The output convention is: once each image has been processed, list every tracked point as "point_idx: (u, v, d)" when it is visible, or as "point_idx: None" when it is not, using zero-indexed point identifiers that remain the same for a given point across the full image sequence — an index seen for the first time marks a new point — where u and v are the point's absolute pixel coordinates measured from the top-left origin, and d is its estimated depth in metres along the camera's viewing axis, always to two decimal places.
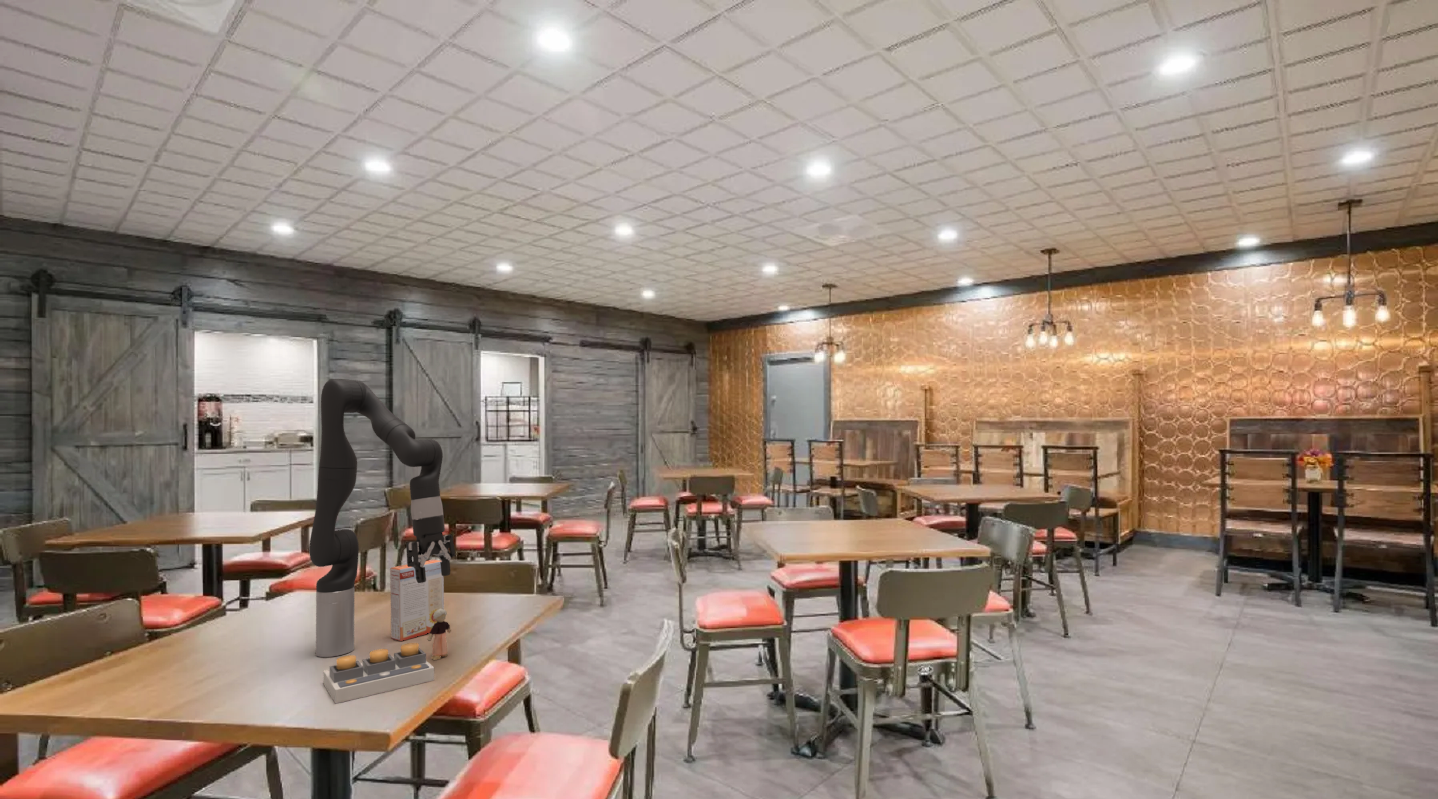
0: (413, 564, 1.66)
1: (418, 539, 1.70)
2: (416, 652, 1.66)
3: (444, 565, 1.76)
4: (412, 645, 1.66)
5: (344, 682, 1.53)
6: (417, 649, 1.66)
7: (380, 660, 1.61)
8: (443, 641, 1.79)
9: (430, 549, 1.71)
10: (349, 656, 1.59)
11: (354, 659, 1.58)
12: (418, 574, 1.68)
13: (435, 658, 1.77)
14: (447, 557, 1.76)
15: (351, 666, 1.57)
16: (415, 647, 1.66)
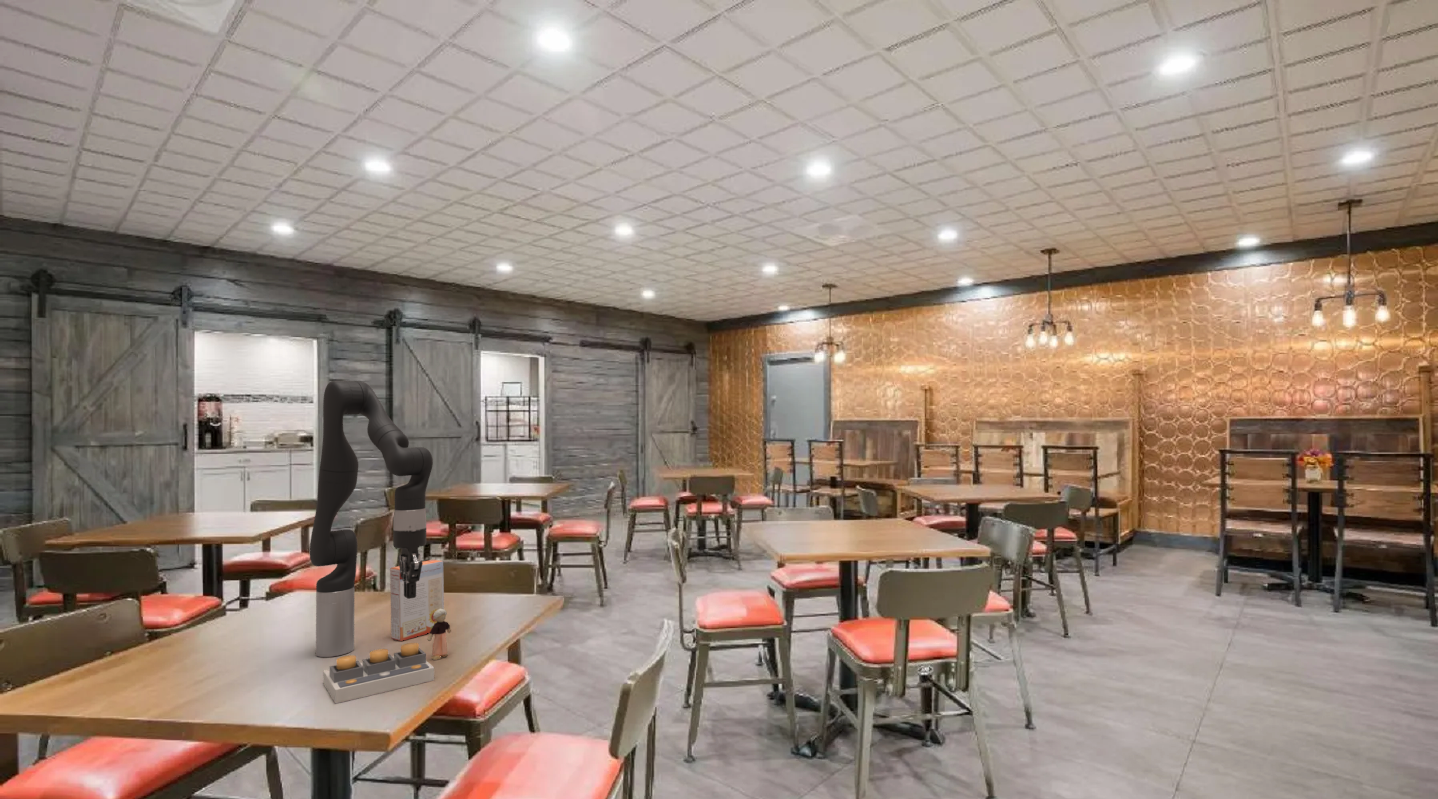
0: (416, 580, 1.65)
1: (413, 551, 1.65)
2: (416, 652, 1.66)
3: None
4: (412, 645, 1.66)
5: (344, 682, 1.53)
6: (417, 649, 1.66)
7: (380, 660, 1.61)
8: (443, 641, 1.79)
9: None
10: (349, 656, 1.59)
11: (354, 659, 1.58)
12: (413, 589, 1.66)
13: (435, 658, 1.77)
14: None
15: (351, 666, 1.57)
16: (415, 647, 1.66)
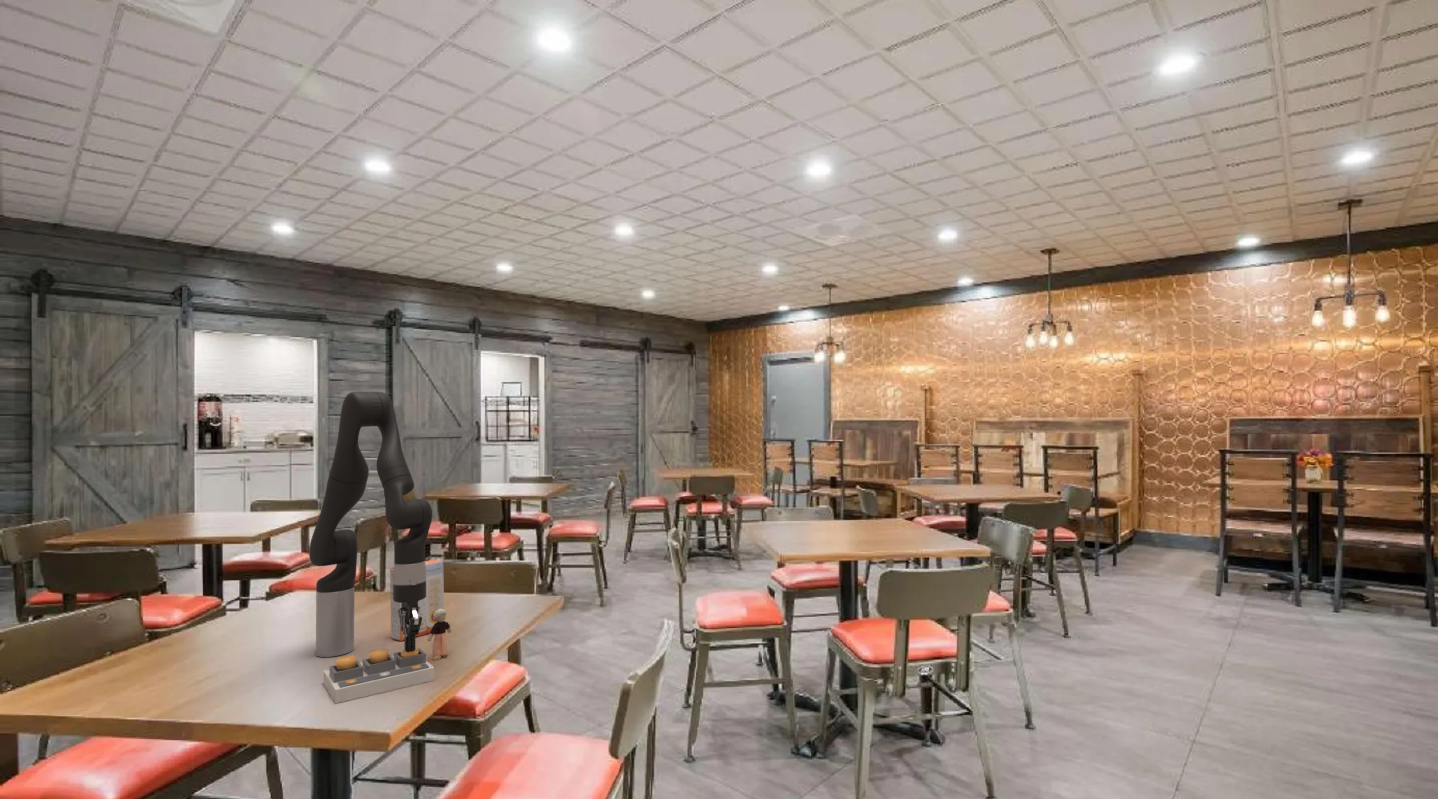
0: (416, 634, 1.65)
1: (413, 605, 1.64)
2: None
3: None
4: (412, 651, 1.66)
5: (344, 682, 1.53)
6: None
7: (380, 660, 1.61)
8: (443, 641, 1.79)
9: None
10: (349, 656, 1.59)
11: (354, 659, 1.58)
12: (412, 643, 1.66)
13: (435, 658, 1.77)
14: None
15: (351, 666, 1.57)
16: (415, 652, 1.66)
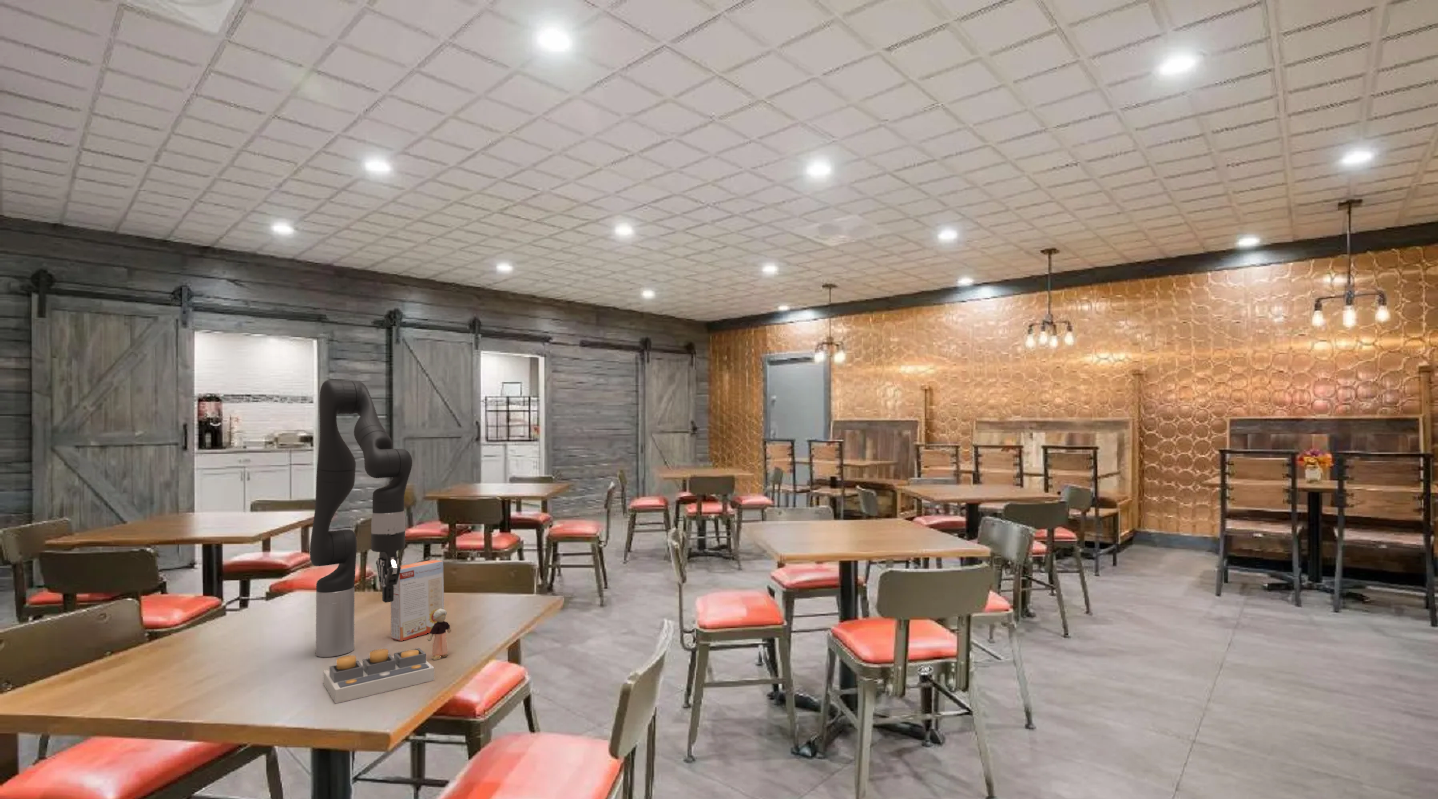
0: (394, 584, 1.63)
1: (391, 555, 1.62)
2: None
3: None
4: (412, 652, 1.66)
5: (344, 682, 1.53)
6: None
7: (380, 660, 1.61)
8: (443, 641, 1.79)
9: None
10: (349, 656, 1.59)
11: (354, 659, 1.58)
12: (390, 593, 1.63)
13: (435, 658, 1.77)
14: None
15: (351, 666, 1.57)
16: (415, 654, 1.66)
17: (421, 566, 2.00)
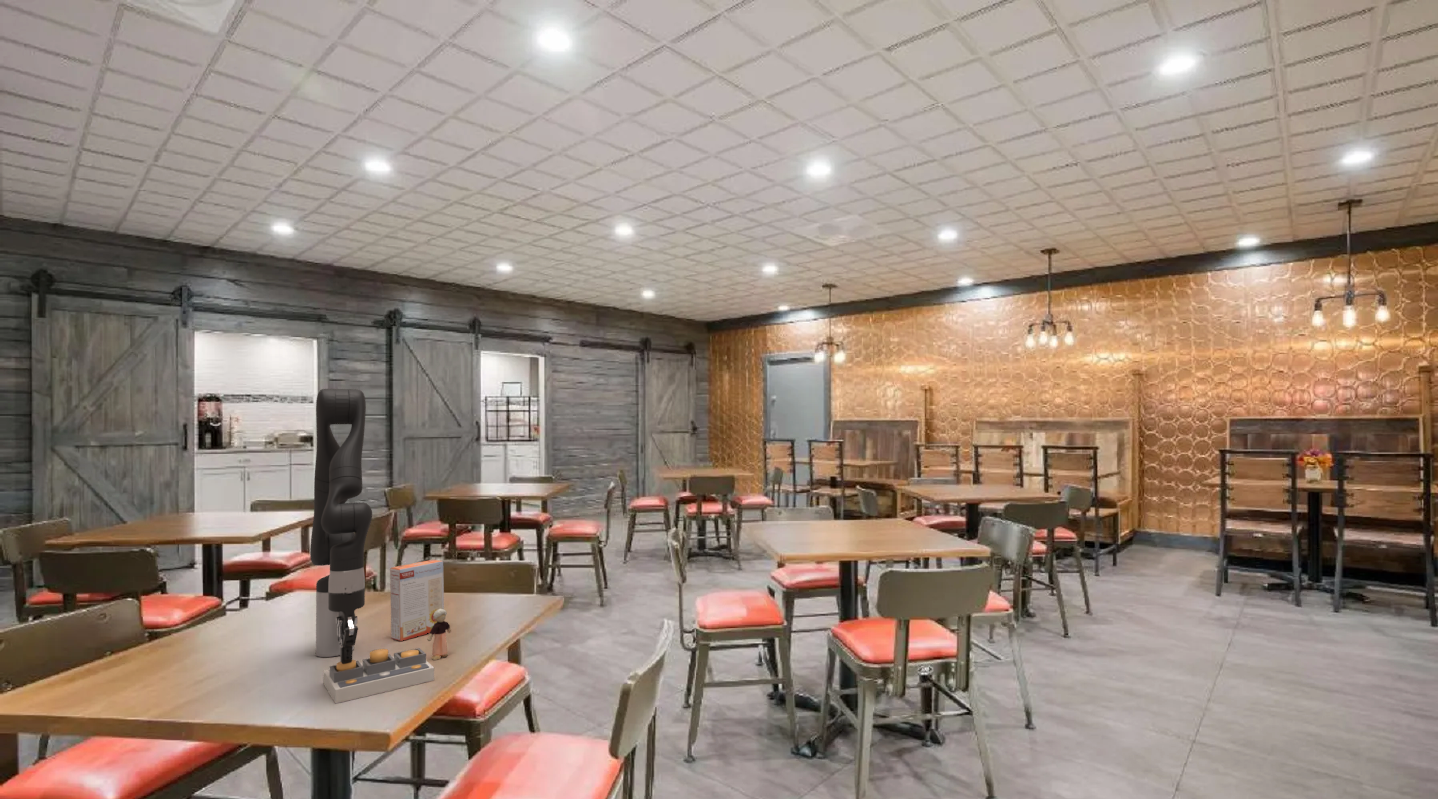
0: (352, 645, 1.56)
1: (349, 614, 1.55)
2: None
3: None
4: (412, 652, 1.66)
5: (344, 682, 1.53)
6: None
7: (380, 660, 1.61)
8: (443, 641, 1.79)
9: None
10: None
11: (354, 663, 1.58)
12: (348, 654, 1.57)
13: (435, 658, 1.77)
14: None
15: None
16: (415, 654, 1.66)
17: (421, 566, 2.00)
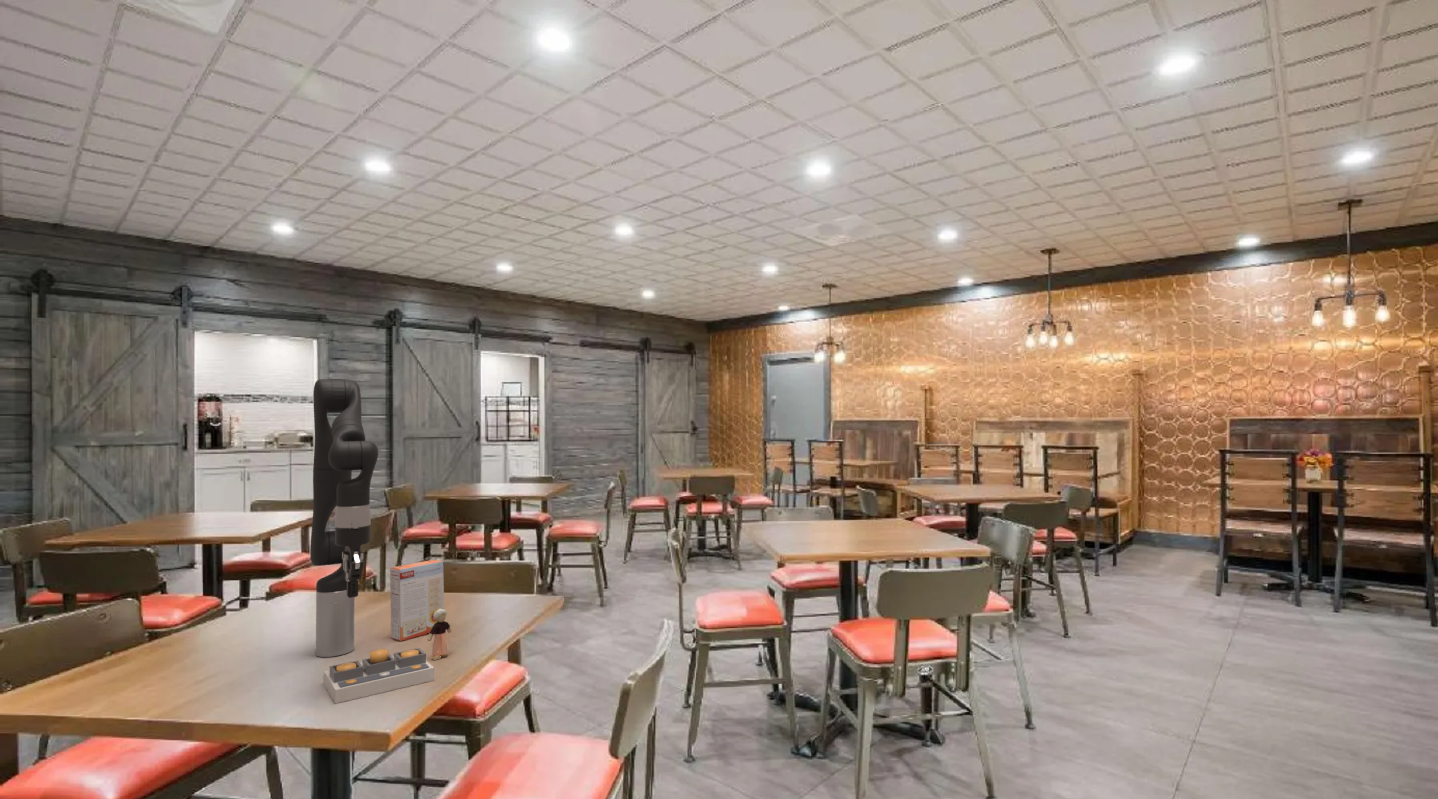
0: (358, 579, 1.59)
1: (355, 549, 1.58)
2: None
3: None
4: (412, 652, 1.66)
5: (344, 682, 1.53)
6: None
7: (380, 660, 1.61)
8: (443, 641, 1.79)
9: None
10: (349, 663, 1.59)
11: (354, 667, 1.58)
12: (354, 588, 1.60)
13: (435, 658, 1.77)
14: None
15: None
16: (415, 654, 1.66)
17: (421, 566, 2.00)
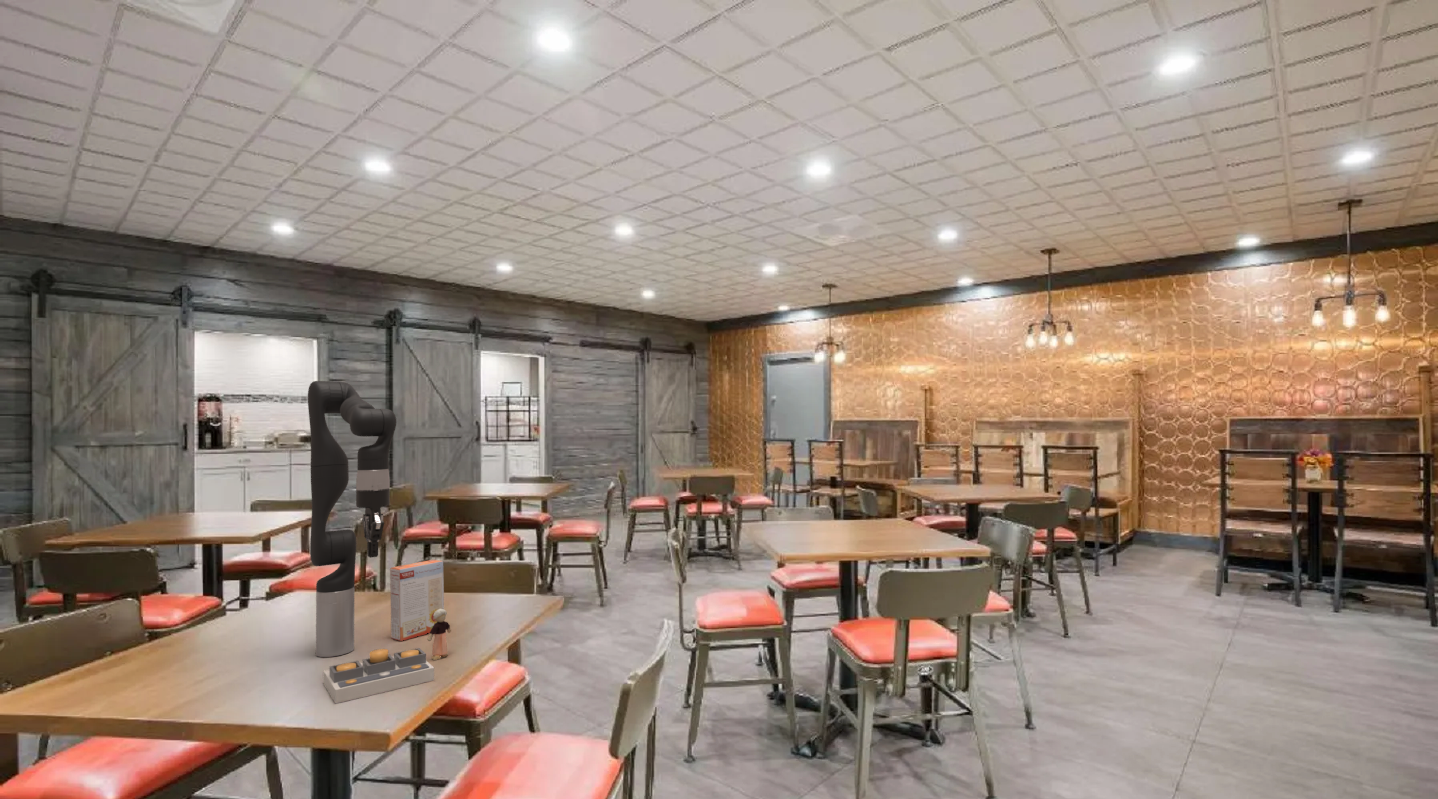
0: (378, 539, 1.67)
1: (375, 510, 1.66)
2: None
3: None
4: (412, 652, 1.66)
5: (344, 682, 1.53)
6: None
7: (380, 660, 1.61)
8: (443, 641, 1.79)
9: None
10: (349, 663, 1.59)
11: (354, 667, 1.58)
12: (374, 548, 1.68)
13: (435, 658, 1.77)
14: None
15: None
16: (415, 654, 1.66)
17: (421, 566, 1.99)
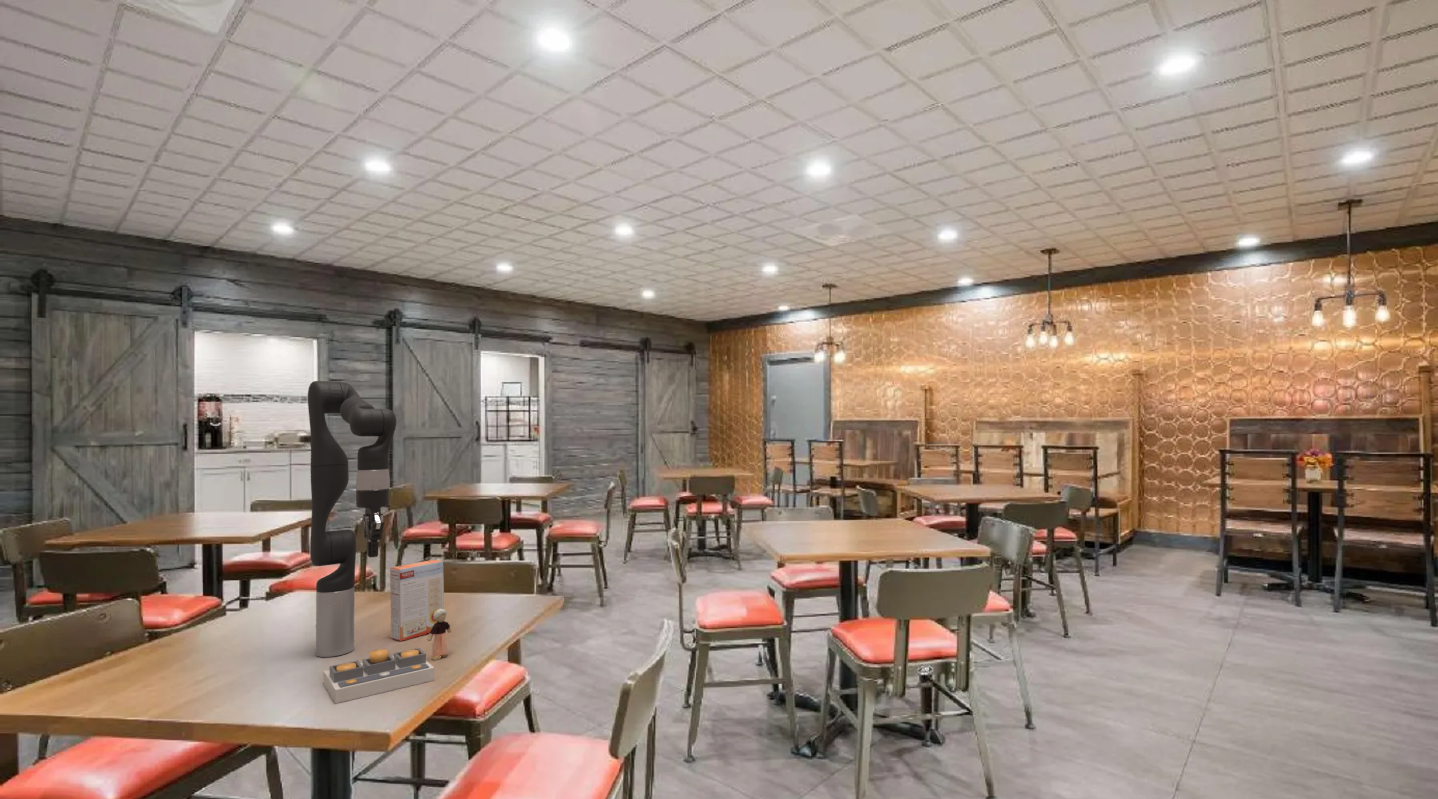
0: (378, 539, 1.67)
1: (375, 510, 1.66)
2: None
3: None
4: (412, 652, 1.66)
5: (344, 682, 1.53)
6: None
7: (380, 660, 1.61)
8: (443, 641, 1.79)
9: None
10: (349, 663, 1.59)
11: (354, 667, 1.58)
12: (375, 548, 1.68)
13: (435, 658, 1.77)
14: None
15: None
16: (415, 654, 1.66)
17: (421, 566, 2.00)
